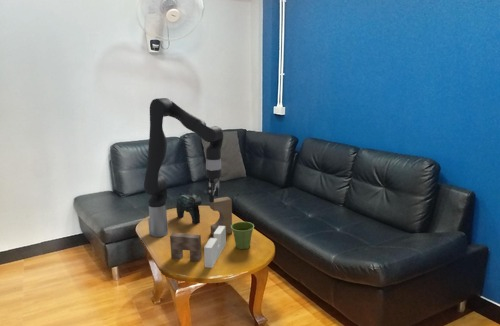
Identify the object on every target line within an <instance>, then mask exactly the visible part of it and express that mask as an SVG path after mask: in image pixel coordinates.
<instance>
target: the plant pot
mask: <svg viewBox="0 0 500 326" xmlns="http://www.w3.org/2000/svg"><path fill="white" fill-rule="evenodd" d="M231 228H232V233H233V237H234V243H235V247H236V248H237V249H238V250H247V249H249V248H250V247H251V241H252V236H253V230H254V228H255V225H254V223H252V222H249V221H237V222H234V223H232V225H231Z"/></svg>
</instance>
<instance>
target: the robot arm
mask: <svg viewBox="0 0 500 326" xmlns="http://www.w3.org/2000/svg"><path fill="white" fill-rule="evenodd" d="M149 104H150V105H149V139H148V146H147V147H148V148H147V150H148V151H147V163H146V170H145V175H144V180H143V181H144V182H143V188H144V191H145V193H146V194H147V195H148V196H150V197H149V199H148V203H147V204H148V214H149V217H148V219H147V222H148V234H149V236H151V237H154V238H160V237H165V236H167V235H168V233H169V230H168V228H169V227H168V226H169V225H168V216H167V215H168V214H167V212H168V211H167V198H168V187H167V186H168V184H167V181H166V178H165V177H164V176H163V175H160V169H161V167H162V165H163V164H164V161H165V159H166V156H167V152H168V151H167V149H168V140H167V136H166V135H165V132H164V130H163V129H164V127H163V124H164V123H163V122H164V118H165V117H171V118H173V119H175V120H177V121H179V122H180V124H181V125H182V126H183V127H184V128H186V129H187V130H189V131H191V132H193V133H195V134H196V135H197V136H198V137H199V138H200V139H202V140H203V141H205V142H207V143H209V145H208V146H207V147H206V149H205V154H206V155H205V156H206V159H205V177H206V178H207V179H209V181H208V182H207V188H206V190H207V191H206V192H207V195H208V199H209V200H208V201H209V203H210V202H214V199H215V197H219V195H220V194H219V192H220V191H219V189H220V187H221V182H220V181H221V180H220V179H221V178H222V160H221V159H222V157H221V155H222V151H221V149H222V145H223V141H224V131H223V129H222V128H221V127H220V126H217V125H213V126H207V123H206V122H205V120H202V119H200V118H199V117H197V116H195V115H193V114H192V113H189V112H188V111H186V110H185V109H183V108H182V107H180V106H179V105H177V104H176V103H175V102H174V101H173V100H171V99H169V98H166V97H162V98H154V99H152V100H151V102H150V103H149Z"/></svg>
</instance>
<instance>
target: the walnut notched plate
mask: <svg viewBox="0 0 500 326" xmlns="http://www.w3.org/2000/svg"><path fill="white" fill-rule="evenodd" d="M201 237H202V236H201V234H196V233H195V234H194V233H182V232H172V233H171V234H170V235H169V239H170V240H169V241H170V243H169V244H170V256H171V257H170V259H171V260H182V259H183V257H184V251H188V252H189V261H191V262H200V261H201V259H202V258H203V257H202V255H203V254H202V240H201V239H202V238H201Z"/></svg>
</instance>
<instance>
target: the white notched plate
mask: <svg viewBox="0 0 500 326" xmlns="http://www.w3.org/2000/svg"><path fill="white" fill-rule="evenodd" d="M226 237H227V234H226V226H218V228H217V229H216V231H215V232H214V236H213V237H210V238H209V239H208V241H207V243H206V244H204V247H203V250H204V251H203V252H204V253H203V255H204V267H205V268H211V269H213V268H214V266H215V264H216V262H217V260H218V258H219V257H220V255H221V253H222V251H223V250H224V248H225V246H226V244H227V240H226V239H227V238H226Z"/></svg>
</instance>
